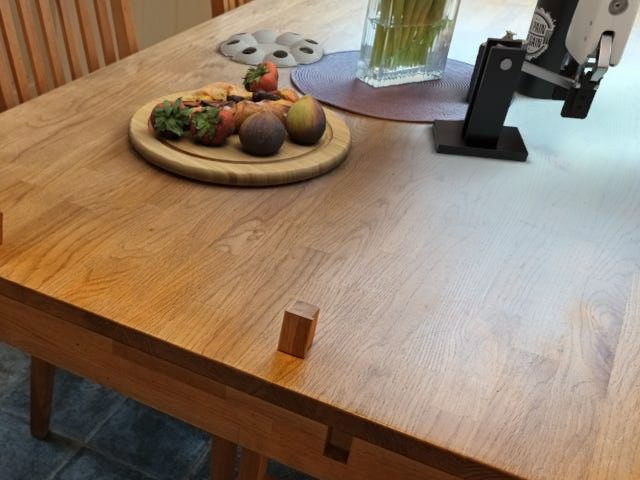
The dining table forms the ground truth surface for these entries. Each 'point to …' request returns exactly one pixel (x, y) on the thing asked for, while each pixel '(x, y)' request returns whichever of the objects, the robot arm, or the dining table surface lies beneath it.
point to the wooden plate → (241, 133)
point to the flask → (479, 58)
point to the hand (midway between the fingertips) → (567, 107)
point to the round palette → (272, 49)
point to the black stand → (488, 108)
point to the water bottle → (546, 44)
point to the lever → (547, 74)
